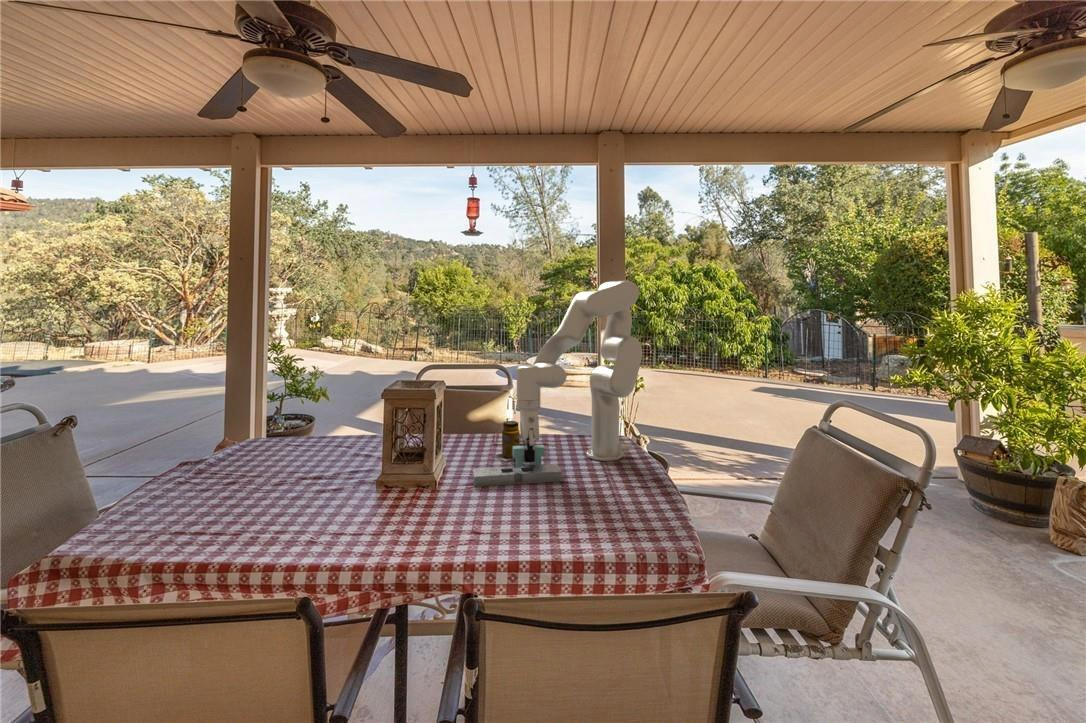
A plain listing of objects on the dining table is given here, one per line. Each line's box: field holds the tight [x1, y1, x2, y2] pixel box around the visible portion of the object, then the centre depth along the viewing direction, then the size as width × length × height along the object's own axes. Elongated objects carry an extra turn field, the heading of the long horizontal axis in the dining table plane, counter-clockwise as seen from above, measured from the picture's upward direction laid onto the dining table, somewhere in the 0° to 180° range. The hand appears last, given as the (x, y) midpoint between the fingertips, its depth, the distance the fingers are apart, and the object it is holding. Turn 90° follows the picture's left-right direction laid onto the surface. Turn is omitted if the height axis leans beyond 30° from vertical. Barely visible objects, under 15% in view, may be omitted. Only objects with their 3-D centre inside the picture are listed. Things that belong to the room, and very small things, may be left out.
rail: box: [472, 463, 563, 488], centre depth 149 cm, size 26×7×3 cm, turn 100°
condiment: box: [493, 420, 521, 462], centre depth 171 cm, size 7×8×12 cm
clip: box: [513, 444, 546, 466], centre depth 159 cm, size 10×3×7 cm, turn 100°
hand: (528, 459), depth 159 cm, fingers closed on clip, 3 cm apart
